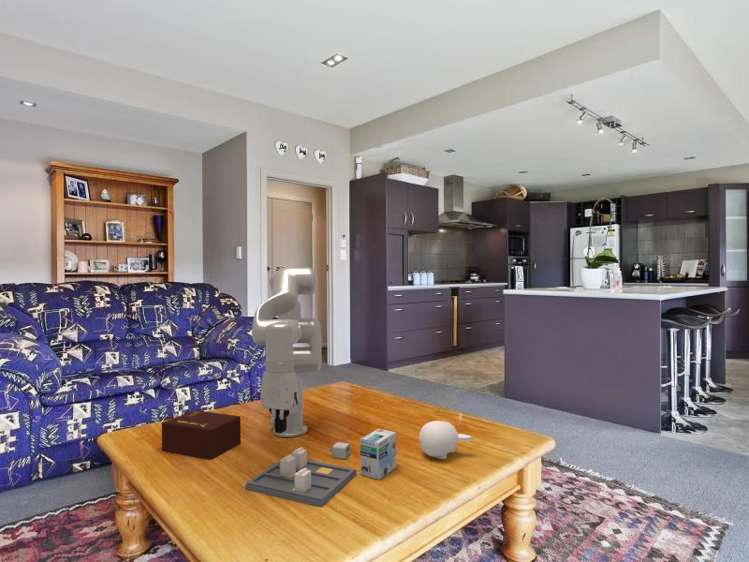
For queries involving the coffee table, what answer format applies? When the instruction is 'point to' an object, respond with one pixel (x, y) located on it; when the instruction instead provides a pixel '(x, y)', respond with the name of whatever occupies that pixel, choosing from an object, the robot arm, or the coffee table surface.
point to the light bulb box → (378, 453)
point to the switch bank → (322, 483)
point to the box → (201, 434)
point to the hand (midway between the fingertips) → (280, 431)
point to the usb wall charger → (340, 450)
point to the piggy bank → (440, 438)
